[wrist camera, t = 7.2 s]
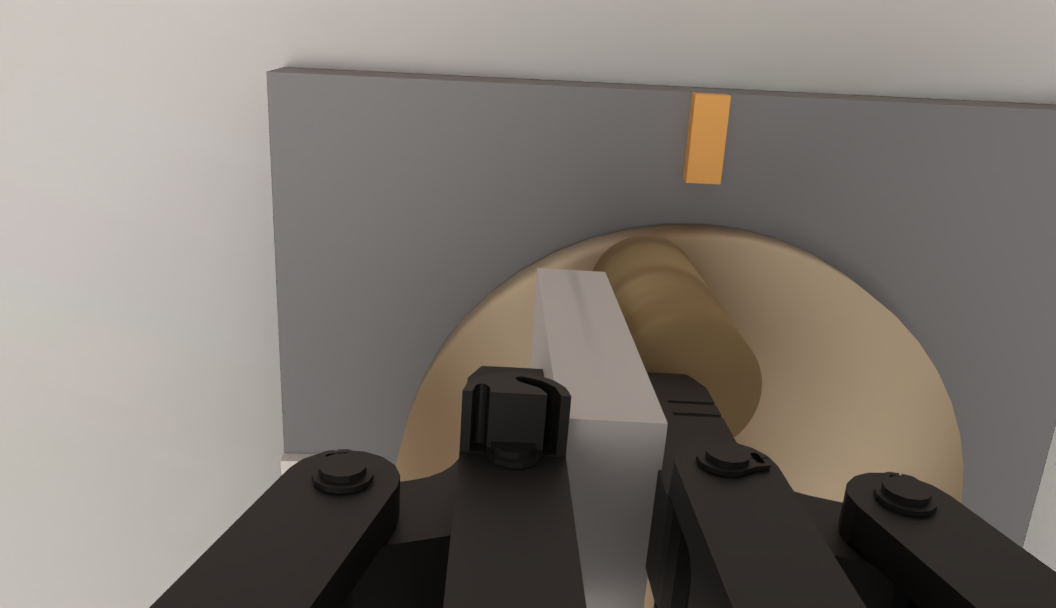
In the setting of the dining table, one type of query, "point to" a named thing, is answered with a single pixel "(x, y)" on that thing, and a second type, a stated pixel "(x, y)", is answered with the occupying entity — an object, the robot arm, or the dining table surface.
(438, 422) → the dial
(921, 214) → the dial base
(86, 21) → the dining table surface
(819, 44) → the dining table surface
